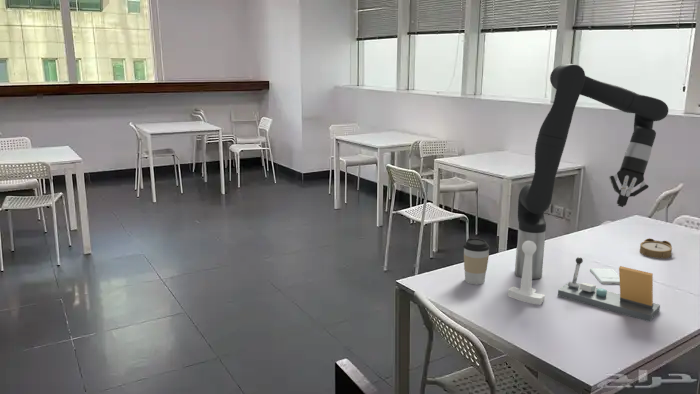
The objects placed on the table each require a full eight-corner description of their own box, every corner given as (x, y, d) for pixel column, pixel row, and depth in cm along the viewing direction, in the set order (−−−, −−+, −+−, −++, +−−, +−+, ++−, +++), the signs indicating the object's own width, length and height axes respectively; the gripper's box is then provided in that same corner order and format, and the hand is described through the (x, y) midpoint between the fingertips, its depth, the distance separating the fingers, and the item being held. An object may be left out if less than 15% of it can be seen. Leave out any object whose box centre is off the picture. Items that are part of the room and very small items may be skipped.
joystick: (506, 296, 182) (510, 239, 178) (516, 289, 188) (520, 233, 183) (539, 306, 175) (544, 246, 171) (548, 298, 181) (553, 240, 176)
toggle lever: (567, 286, 184) (574, 256, 184) (569, 286, 186) (576, 256, 186) (576, 288, 182) (583, 258, 182) (578, 289, 184) (585, 258, 184)
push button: (594, 294, 178) (595, 290, 178) (598, 292, 180) (598, 287, 180) (604, 297, 176) (604, 292, 176) (607, 294, 178) (608, 290, 178)
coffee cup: (492, 280, 196) (495, 240, 193) (479, 287, 190) (481, 246, 186) (470, 274, 202) (472, 234, 199) (456, 281, 196) (458, 240, 192)
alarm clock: (638, 248, 220) (644, 233, 232) (637, 259, 222) (643, 243, 233) (670, 254, 214) (675, 237, 225) (668, 265, 216) (673, 248, 227)
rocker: (579, 289, 181) (580, 283, 181) (584, 287, 184) (584, 282, 184) (590, 292, 178) (591, 286, 178) (595, 290, 182) (596, 285, 181)
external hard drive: (612, 272, 204) (625, 285, 192) (589, 272, 205) (601, 285, 193) (613, 268, 204) (626, 281, 192) (590, 268, 205) (601, 280, 193)
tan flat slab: (619, 301, 174) (618, 268, 167) (621, 298, 175) (620, 265, 168) (651, 310, 168) (651, 276, 161) (653, 306, 169) (653, 272, 162)
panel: (557, 295, 183) (558, 289, 183) (569, 286, 190) (570, 281, 190) (649, 321, 165) (650, 315, 164) (659, 310, 172) (660, 304, 171)
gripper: (617, 152, 186) (601, 201, 188) (659, 162, 183) (643, 212, 184) (614, 153, 194) (598, 200, 195) (654, 163, 190) (638, 211, 192)
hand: (620, 206), depth 190 cm, fingers closed
